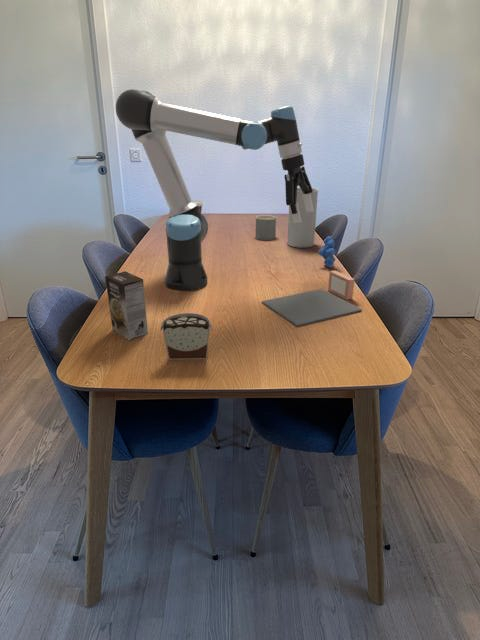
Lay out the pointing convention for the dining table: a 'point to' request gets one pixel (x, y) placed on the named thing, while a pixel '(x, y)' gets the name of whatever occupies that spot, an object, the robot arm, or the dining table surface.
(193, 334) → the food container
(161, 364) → the dining table surface
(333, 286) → the pink picture frame
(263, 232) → the coffee mug
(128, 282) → the coffee box
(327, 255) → the blue lumpy piece
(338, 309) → the mat
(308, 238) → the cylinder vase
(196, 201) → the disposable coffee cup
